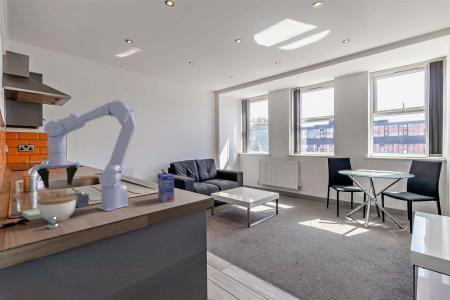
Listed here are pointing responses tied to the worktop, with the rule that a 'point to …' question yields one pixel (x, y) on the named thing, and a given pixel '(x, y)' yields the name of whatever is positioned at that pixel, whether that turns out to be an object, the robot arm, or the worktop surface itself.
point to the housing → (81, 199)
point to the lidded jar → (57, 206)
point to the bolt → (53, 223)
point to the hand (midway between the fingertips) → (58, 186)
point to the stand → (32, 214)
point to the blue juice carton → (165, 186)
